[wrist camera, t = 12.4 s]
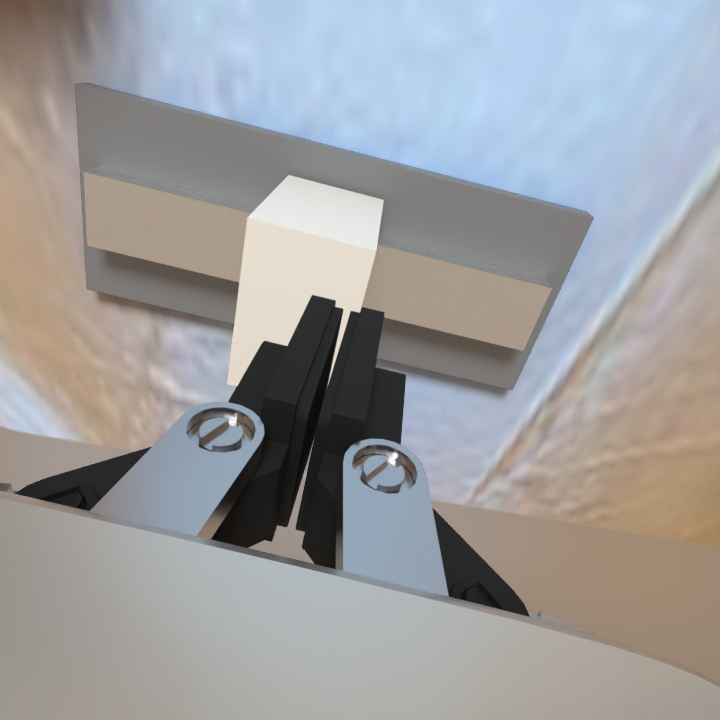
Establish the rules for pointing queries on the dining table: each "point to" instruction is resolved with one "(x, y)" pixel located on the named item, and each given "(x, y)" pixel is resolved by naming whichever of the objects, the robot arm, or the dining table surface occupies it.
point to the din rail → (387, 278)
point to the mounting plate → (334, 168)
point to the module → (301, 262)
